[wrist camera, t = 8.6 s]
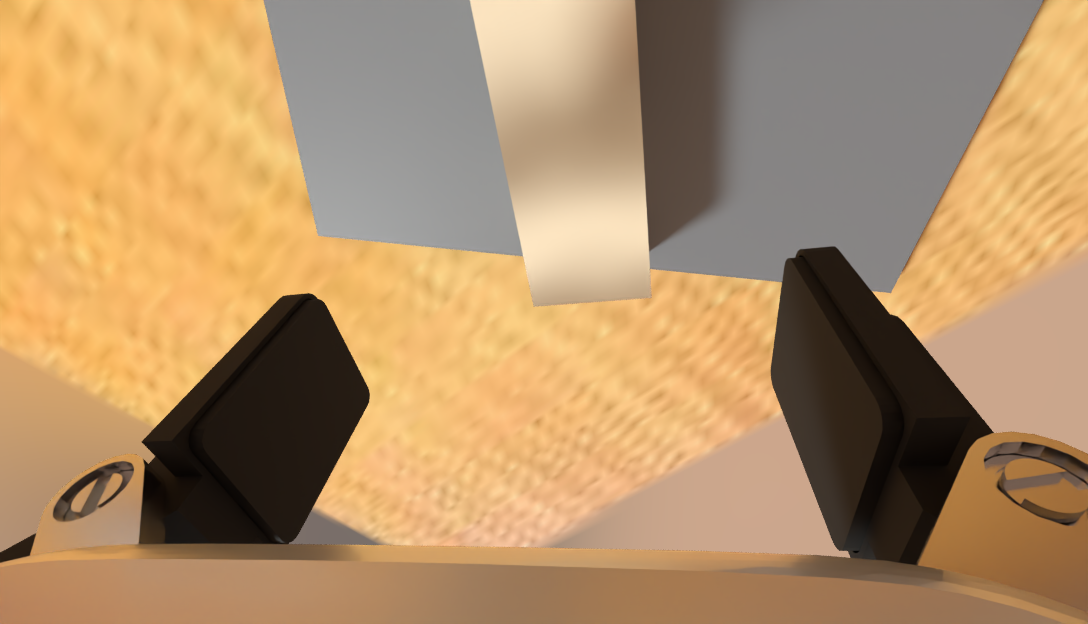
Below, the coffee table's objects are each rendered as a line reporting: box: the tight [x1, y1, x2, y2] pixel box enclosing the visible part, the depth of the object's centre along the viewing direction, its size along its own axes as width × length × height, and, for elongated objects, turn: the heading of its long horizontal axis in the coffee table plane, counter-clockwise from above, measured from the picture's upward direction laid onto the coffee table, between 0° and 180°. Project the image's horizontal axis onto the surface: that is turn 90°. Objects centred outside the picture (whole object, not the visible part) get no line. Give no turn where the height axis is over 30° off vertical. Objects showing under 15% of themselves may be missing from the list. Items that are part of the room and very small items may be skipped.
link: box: [470, 0, 652, 307], centre depth 15 cm, size 18×6×4 cm, turn 10°
